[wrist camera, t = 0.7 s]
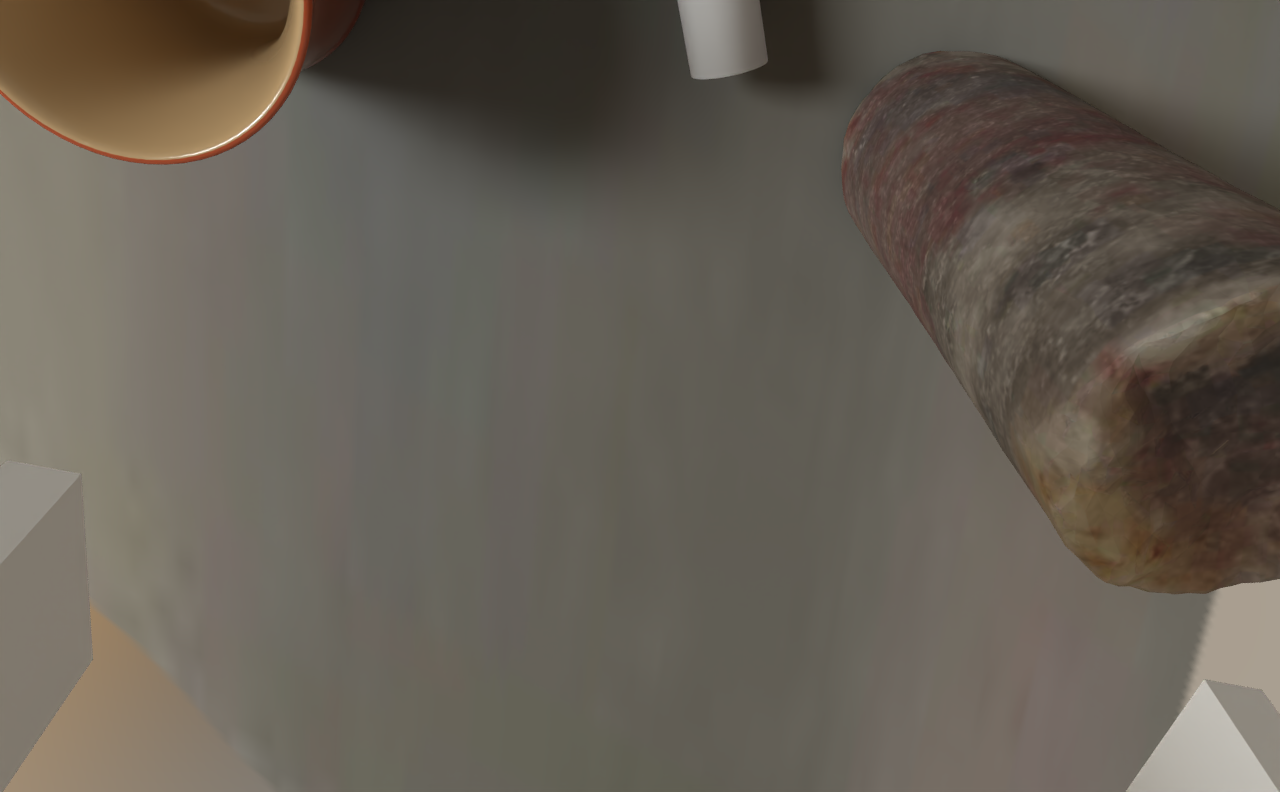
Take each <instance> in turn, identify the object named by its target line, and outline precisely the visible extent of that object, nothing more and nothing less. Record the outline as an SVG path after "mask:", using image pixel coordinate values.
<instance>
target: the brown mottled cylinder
mask: <svg viewBox="0 0 1280 792" xmlns="http://www.w3.org/2000/svg"><path fill="white" fill-rule="evenodd" d="M841 171H842V187H843V195H844V200H845V203H846V206H847V209H848V211H849V213H850V215H851V217H852V219H853V220H854V222H855V224H856V226H857V227H858V229H859V230H860V232H861V233H862V235H863V236H864V238H865V240H866V241H867V243H868V244H869V246H870V248H871V249H872V251H873V252H874V254H875V255H876V256H877V258H878V259H879V261H880V262H881V264H882V265H883V266H884V268H885V269H886V271H887V272H888V274H889V275H890V277H891V278H892V280H893V281H894V283H895V284H896V286H897V287H898V289H899V290H900V291H901V293H902V294H903V296H904V297H905V299H906V300H907V301H908V303H909V304H910V305H911V307H912V309H913V311H914V312H915V314H916V316H917V317H918V319H919V320H920V322H921V323H922V325H923V326H924V328H925V329H926V331H927V332H928V334H929V335H930V337H931V338H932V340H933V341H934V343H935V344H936V346H937V347H938V349H939V351H940V352H941V354H942V356H943V357H944V359H945V360H946V362H947V363H948V365H949V366H950V368H951V369H952V371H953V372H954V374H955V375H956V377H957V379H958V380H959V382H960V384H961V385H962V387H963V388H964V390H965V391H966V393H967V394H968V396H969V397H970V398H971V400H972V402H973V403H974V405H975V407H976V408H977V410H978V411H979V413H980V414H981V416H982V417H983V419H984V420H985V422H986V423H987V425H988V427H989V428H990V430H991V432H992V433H993V435H994V437H995V438H996V440H997V442H998V443H999V445H1000V447H1001V448H1002V450H1003V452H1004V453H1005V454H1006V456H1007V457H1008V459H1009V460H1010V462H1011V463H1012V465H1013V466H1014V467H1015V469H1016V470H1017V472H1018V473H1019V475H1020V476H1021V478H1022V479H1023V481H1024V482H1025V484H1026V485H1027V486H1028V488H1029V489H1030V491H1031V492H1032V494H1033V495H1034V497H1035V498H1036V500H1037V501H1038V503H1039V504H1040V506H1041V507H1042V509H1043V510H1044V512H1045V513H1046V514H1047V516H1048V518H1049V519H1050V521H1051V523H1052V524H1053V526H1054V528H1055V529H1056V531H1057V533H1058V534H1059V536H1060V538H1061V539H1062V541H1063V543H1064V544H1065V546H1066V547H1067V548H1068V549H1070V550H1071V551H1072V552H1073V553H1074V554H1075V555H1076V556H1077V557H1078V558H1079V559H1080V560H1081V561H1082V562H1083V563H1084V564H1085V565H1086V566H1087V567H1088V568H1089V569H1090V570H1091V571H1092V572H1093V573H1094V574H1095V575H1096V576H1097V577H1098V578H1100V579H1101V580H1103V581H1104V582H1106V583H1110V584H1113V585H1117V586H1131V587H1134V588H1138V589H1141V590H1144V591H1147V592H1157V593H1171V594H1183V593H1200V594H1206V593H1209V592H1211V591H1214V590H1216V589H1219V588H1223V587H1228V586H1233V585H1236V584H1240V583H1253V582H1254V583H1255V582H1264V581H1270V580H1276V579H1280V210H1278V209H1276V208H1274V207H1273V206H1271V205H1269V204H1267V203H1266V202H1264V201H1262V200H1260V199H1258V198H1256V197H1254V196H1252V195H1250V194H1248V193H1246V192H1244V191H1242V190H1240V189H1238V188H1236V187H1234V186H1232V185H1230V184H1229V183H1227V182H1225V181H1224V180H1222V179H1220V178H1218V177H1217V176H1215V175H1213V174H1212V173H1210V172H1208V171H1206V170H1204V169H1203V168H1201V167H1199V166H1198V165H1196V164H1194V163H1192V162H1190V161H1188V160H1186V159H1184V158H1182V157H1180V156H1178V155H1176V154H1174V153H1172V152H1170V151H1168V150H1167V149H1165V148H1164V147H1162V146H1161V145H1159V144H1157V143H1155V142H1153V141H1151V140H1150V139H1148V138H1146V137H1144V136H1143V135H1141V134H1140V133H1138V132H1137V131H1135V130H1133V129H1131V128H1129V127H1127V126H1125V125H1124V124H1122V123H1121V122H1119V121H1117V120H1115V119H1114V118H1112V117H1110V116H1108V115H1107V114H1105V113H1103V112H1102V111H1100V110H1098V109H1096V108H1095V107H1093V106H1091V105H1090V104H1088V103H1086V102H1084V101H1083V100H1081V99H1079V98H1077V97H1076V96H1074V95H1072V94H1071V93H1069V92H1067V91H1065V90H1063V89H1062V88H1060V87H1058V86H1056V85H1054V84H1053V83H1051V82H1049V81H1048V80H1046V79H1044V78H1042V77H1040V76H1038V75H1036V74H1034V73H1032V72H1030V71H1028V70H1026V69H1025V68H1023V67H1021V66H1019V65H1017V64H1015V63H1013V62H1011V61H1008V60H1006V59H1003V58H1000V57H998V56H994V55H989V54H986V53H978V52H971V51H954V52H953V51H937V52H931V53H926V54H922V55H920V56H917V57H915V58H913V59H911V60H909V61H907V62H905V63H903V64H901V65H899V66H897V67H896V68H895V69H893V70H892V71H891V72H889V73H888V74H887V75H886V76H885V77H883V78H882V79H881V80H880V81H879V82H878V83H877V84H876V85H875V86H874V88H873V89H872V91H871V92H870V93H869V94H868V95H867V96H866V97H865V98H864V99H863V101H862V102H861V103H860V105H859V106H858V108H857V109H856V111H855V113H854V115H853V117H852V118H851V120H850V122H849V124H848V128H847V132H846V135H845V137H844V146H843V158H842V166H841Z"/></svg>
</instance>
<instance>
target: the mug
mask: <svg viewBox="0 0 1280 792" xmlns="http://www.w3.org/2000/svg"><path fill="white" fill-rule="evenodd" d="M365 1H366V0H0V94H1V95H2V96H3V97H4V98H5V99H6V100H7V101H9V102H10V103H11V104H12V105H13V106H14V107H16V108H17V109H18V110H19V111H21V112H22V113H23V114H24V115H26V116H27V117H28V118H30V119H31V120H33V121H34V122H36V123H37V124H39V125H40V126H42V127H43V128H45V129H46V130H48V131H50V132H51V133H53V134H55V135H57V136H58V137H60V138H62V139H64V140H66V141H68V142H70V143H72V144H74V145H76V146H79V147H81V148H84V149H86V150H89V151H91V152H94V153H97V154H100V155H104V156H107V157H110V158H114V159H118V160H123V161H128V162H134V163H143V164H179V163H187V162H192V161H198V160H202V159H206V158H209V157H212V156H216V155H218V154H221V153H223V152H225V151H228V150H230V149H232V148H234V147H236V146H237V145H239V144H241V143H243V142H244V141H246V140H247V139H249V138H250V137H251V136H253V135H254V134H255V133H257V132H258V131H259V130H260V129H261V128H262V127H264V126H265V125H266V124H267V123H268V122H269V121H270V120H271V119H272V118H273V116H274V115H275V114H276V113H277V112H278V110H279V109H280V108H281V107H282V105H283V104H284V102H285V101H286V99H287V98H288V96H289V95H290V93H291V91H292V89H293V87H294V85H295V83H296V81H297V79H298V77H299V75H300V72H301V71H302V70H304V69H307V68H309V67H311V66H313V65H315V64H317V63H318V62H320V61H322V60H323V59H325V58H326V57H327V56H329V55H330V54H331V53H332V52H333V51H334V50H335V49H337V48H338V47H339V46H340V44H341V43H342V42H343V41H344V40H345V38H346V37H347V36H348V34H349V33H350V31H351V30H352V28H353V27H354V25H355V23H356V21H357V19H358V17H359V15H360V12H361V10H362V8H363V6H364V3H365Z"/></svg>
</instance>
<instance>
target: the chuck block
mask: <svg viewBox="0 0 1280 792" xmlns="http://www.w3.org/2000/svg"><path fill="white" fill-rule="evenodd" d="M677 1H678V7H679V13H680V18H681V24H682V29H683V35H684V40H685V46H686V51H687V57H688V62H689V68H690V73H691V77H692V78H694V79H715V78H722V77H728V76H733V75H737V74H741V73H745V72H748V71H751V70H754V69H756V68H759V67H761V66H763V65H765V64H766V63H767V62H768V56H767V49H766V42H765V35H764V28H763V21H762V14H761V7H760V0H677Z"/></svg>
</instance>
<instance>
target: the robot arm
mask: <svg viewBox="0 0 1280 792" xmlns="http://www.w3.org/2000/svg"><path fill="white" fill-rule="evenodd" d="M92 655H93V654H92V638H91V621H90V604H89V588H88V571H87V555H86V538H85V522H84V505H83V489H82V474H81V473H75V472H70V471H64V470H59V469H53V468H48V467H42V466H37V465H31V464H26V463H20V462H15V461H10V460H7V461H6V462H5V463H3V464H2V465H1V466H0V792H3V791H4V789H5V788H6V786H7V785H8V784H9V782H10V781H11V779H12V778H13V776H14V775H15V773H16V772H17V770H18V769H19V767H20V766H21V764H22V763H23V761H24V760H25V758H26V757H27V756H28V754H29V753H30V751H31V750H32V748H33V747H34V745H35V744H36V742H37V741H38V739H39V738H40V736H41V735H42V733H43V732H44V731H45V729H46V727H47V726H48V725H49V723H50V722H51V720H52V719H53V717H54V716H55V714H56V713H57V711H58V710H59V708H60V707H61V705H62V704H63V703H64V701H65V700H66V698H67V697H68V695H69V693H70V692H71V691H72V689H73V688H74V686H75V685H76V683H77V682H78V680H79V679H80V677H81V676H82V674H83V673H84V671H85V670H86V669H87V667H88V666H89V664H90V663H91V661H92V660H93V656H92ZM1126 792H1280V714H1279V713H1278V711H1277V710H1276V709H1275V707H1274V706H1273V704H1272V703H1271V702H1270V700H1269V699H1268V698H1267V696H1266V695H1265V693H1264V692H1263V691H1262V690H1260V689H1254V688H1249V687H1243V686H1238V685H1233V684H1227V683H1222V682H1216V681H1211V680H1203V682H1202V683H1201V685H1200V686H1199V688H1198V689H1197V691H1196V692H1195V693H1194V695H1193V696H1192V698H1191V699H1190V700H1189V702H1188V703H1187V705H1186V706H1185V708H1184V709H1183V710H1182V712H1181V713H1180V715H1179V716H1178V718H1177V719H1176V720H1175V722H1174V723H1173V725H1172V726H1171V728H1170V729H1169V730H1168V732H1167V733H1166V735H1165V736H1164V738H1163V739H1162V740H1161V742H1160V743H1159V745H1158V746H1157V748H1156V749H1155V750H1154V752H1153V753H1152V755H1151V756H1150V758H1149V759H1148V760H1147V762H1146V763H1145V765H1144V766H1143V768H1142V769H1141V770H1140V772H1139V773H1138V775H1137V776H1136V778H1135V779H1134V780H1133V782H1132V783H1131V785H1130V786H1129V788H1128V789H1127V790H1126Z"/></svg>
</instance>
